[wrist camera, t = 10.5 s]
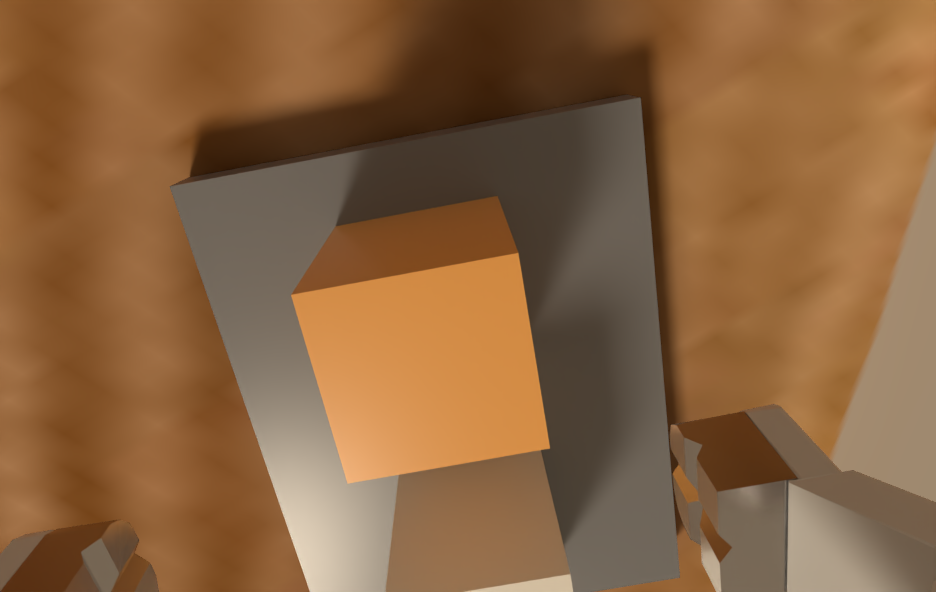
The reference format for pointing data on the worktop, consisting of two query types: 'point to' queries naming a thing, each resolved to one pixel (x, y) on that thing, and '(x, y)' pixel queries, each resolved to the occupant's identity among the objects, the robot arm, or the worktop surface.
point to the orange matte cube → (423, 341)
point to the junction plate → (554, 339)
